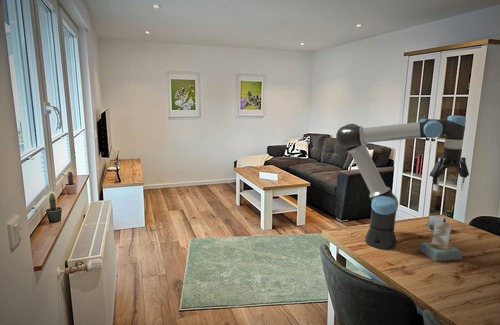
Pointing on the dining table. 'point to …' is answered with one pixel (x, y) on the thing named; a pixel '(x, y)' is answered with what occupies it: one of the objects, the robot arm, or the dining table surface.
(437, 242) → the pallet
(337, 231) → the dining table surface
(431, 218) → the ceramic mug
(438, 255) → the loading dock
